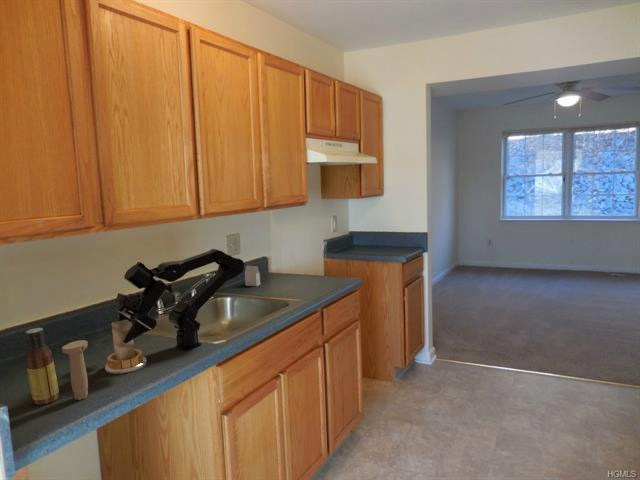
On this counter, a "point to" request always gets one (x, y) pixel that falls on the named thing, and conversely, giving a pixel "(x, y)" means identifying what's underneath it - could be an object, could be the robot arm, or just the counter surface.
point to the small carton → (252, 276)
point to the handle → (77, 368)
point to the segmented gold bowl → (125, 363)
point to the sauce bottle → (40, 368)
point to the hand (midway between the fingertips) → (118, 339)
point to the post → (119, 334)
